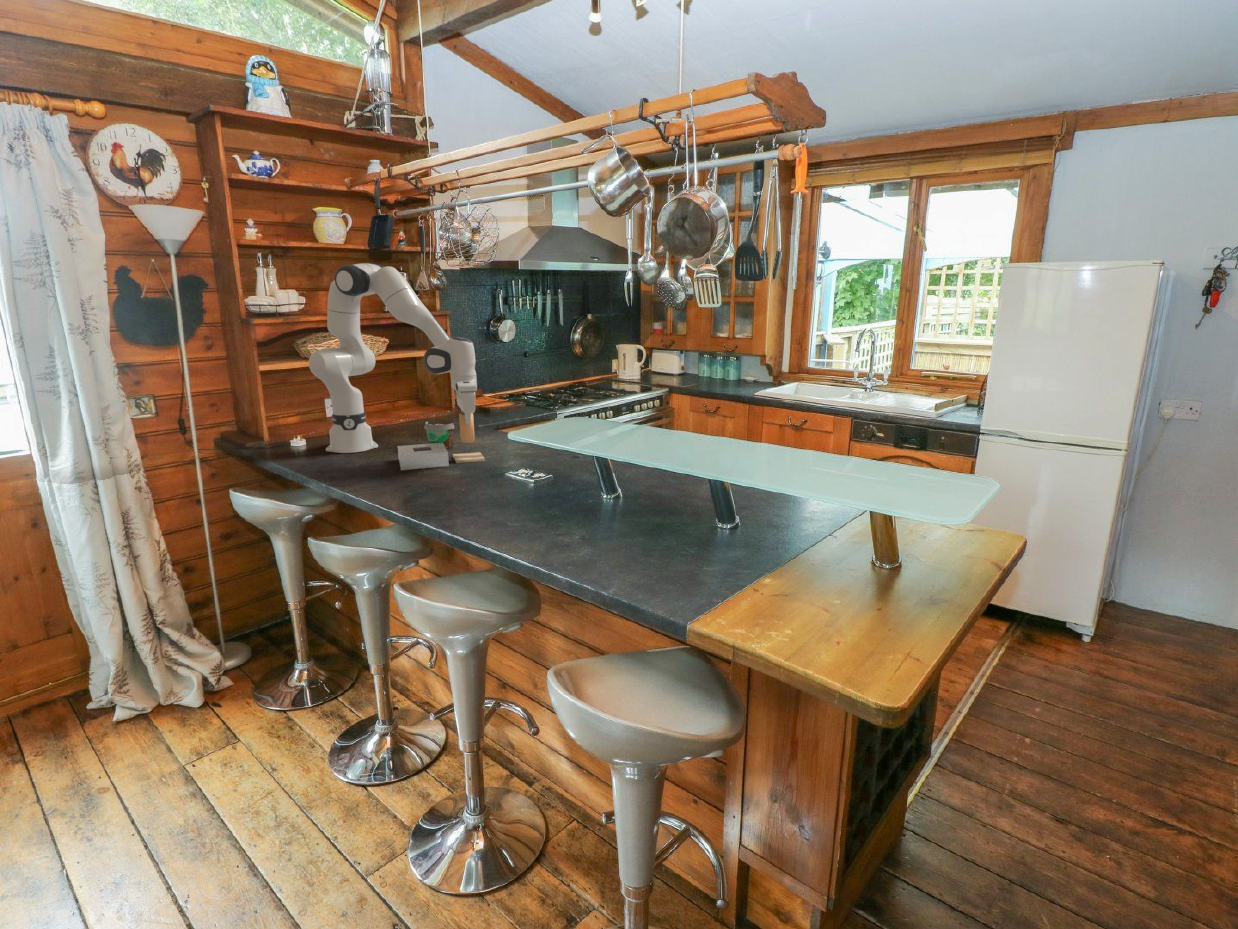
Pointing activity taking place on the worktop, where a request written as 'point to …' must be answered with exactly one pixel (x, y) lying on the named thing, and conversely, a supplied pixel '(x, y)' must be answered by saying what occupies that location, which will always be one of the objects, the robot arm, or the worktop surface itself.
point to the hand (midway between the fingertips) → (466, 421)
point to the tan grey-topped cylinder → (466, 429)
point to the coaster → (468, 457)
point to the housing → (422, 456)
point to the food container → (440, 434)
